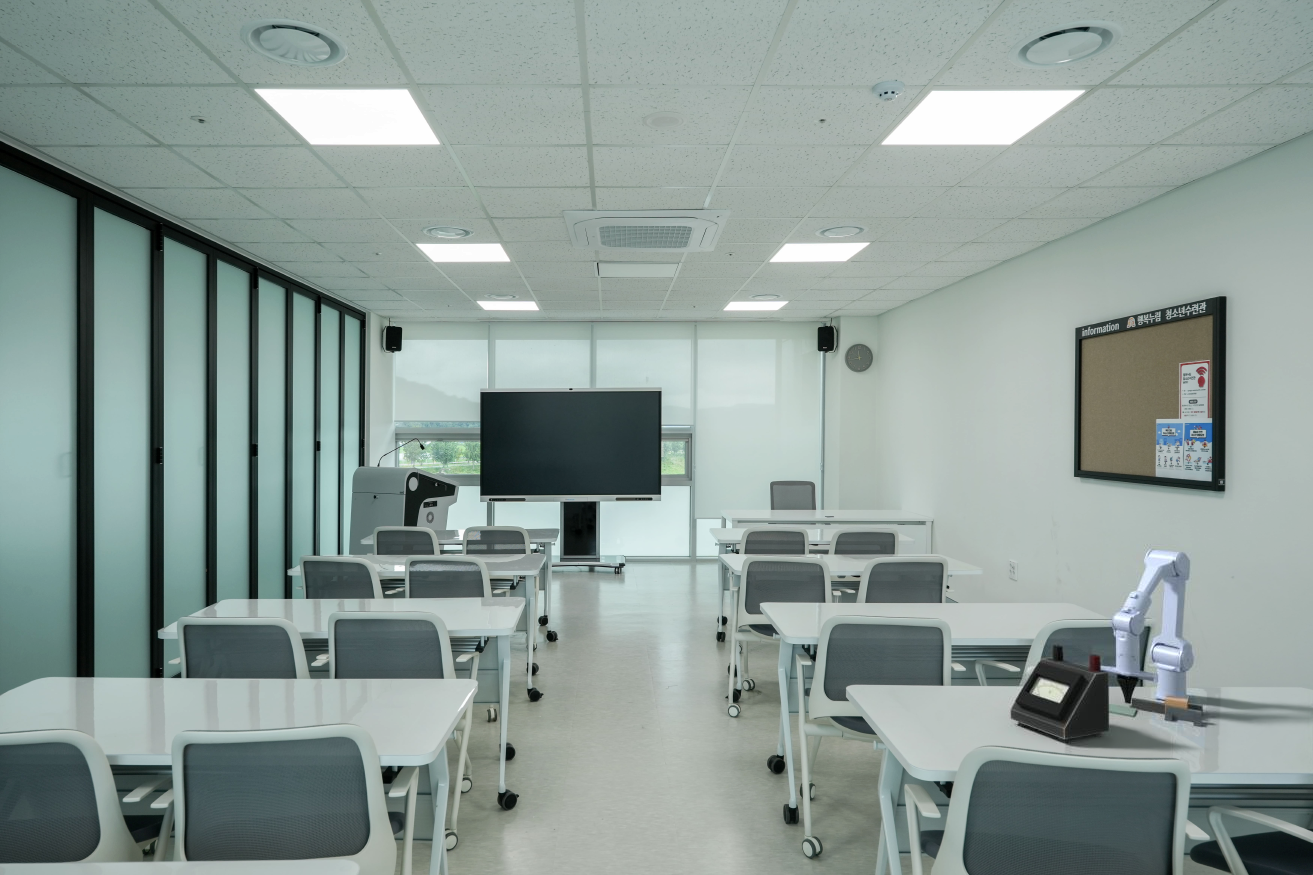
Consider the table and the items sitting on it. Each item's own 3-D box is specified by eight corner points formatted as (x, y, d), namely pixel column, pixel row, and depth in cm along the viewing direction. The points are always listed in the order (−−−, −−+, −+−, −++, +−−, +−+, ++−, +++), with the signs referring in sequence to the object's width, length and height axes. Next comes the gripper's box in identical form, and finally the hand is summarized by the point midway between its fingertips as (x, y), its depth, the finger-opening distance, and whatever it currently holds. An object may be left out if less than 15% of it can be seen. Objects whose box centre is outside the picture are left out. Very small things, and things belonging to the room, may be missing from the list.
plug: (1133, 705, 218) (1132, 689, 218) (1188, 715, 210) (1187, 698, 210) (1131, 708, 215) (1131, 692, 215) (1187, 718, 207) (1186, 702, 207)
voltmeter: (1009, 724, 200) (1009, 647, 201) (1053, 717, 206) (1053, 643, 207) (1063, 745, 185) (1063, 662, 186) (1109, 736, 192) (1108, 657, 192)
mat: (1104, 703, 219) (1104, 702, 219) (1136, 709, 214) (1136, 708, 214) (1099, 710, 213) (1099, 709, 213) (1133, 716, 208) (1133, 715, 208)
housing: (1168, 707, 217) (1168, 696, 217) (1203, 712, 212) (1203, 702, 212) (1164, 719, 205) (1164, 708, 206) (1200, 726, 201) (1200, 715, 201)
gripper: (1096, 653, 219) (1096, 700, 218) (1156, 661, 210) (1156, 711, 209) (1100, 648, 224) (1100, 695, 224) (1158, 657, 216) (1159, 705, 215)
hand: (1128, 702), depth 217 cm, fingers closed
